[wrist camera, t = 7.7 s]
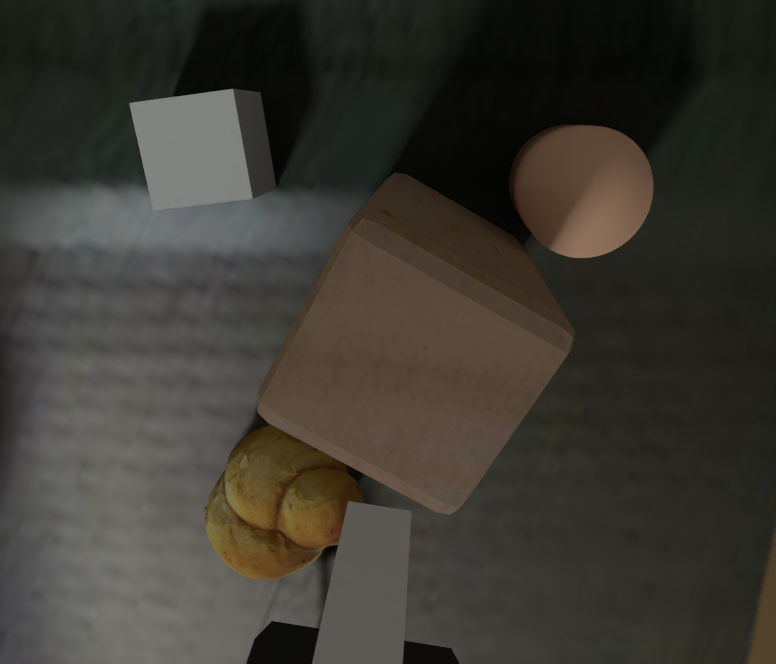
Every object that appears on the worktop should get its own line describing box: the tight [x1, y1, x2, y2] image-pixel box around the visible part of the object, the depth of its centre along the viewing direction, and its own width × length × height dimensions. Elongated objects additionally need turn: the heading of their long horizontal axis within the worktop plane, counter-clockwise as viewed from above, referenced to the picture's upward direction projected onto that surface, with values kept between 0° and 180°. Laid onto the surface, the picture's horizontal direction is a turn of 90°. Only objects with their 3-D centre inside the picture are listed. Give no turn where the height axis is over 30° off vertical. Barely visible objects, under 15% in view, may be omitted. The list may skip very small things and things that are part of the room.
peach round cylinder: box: [508, 124, 653, 258], centre depth 40 cm, size 7×7×7 cm
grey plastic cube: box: [129, 89, 276, 211], centre depth 41 cm, size 6×6×6 cm
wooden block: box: [257, 173, 575, 515], centre depth 36 cm, size 10×10×20 cm
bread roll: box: [204, 425, 364, 580], centre depth 47 cm, size 13×10×8 cm
